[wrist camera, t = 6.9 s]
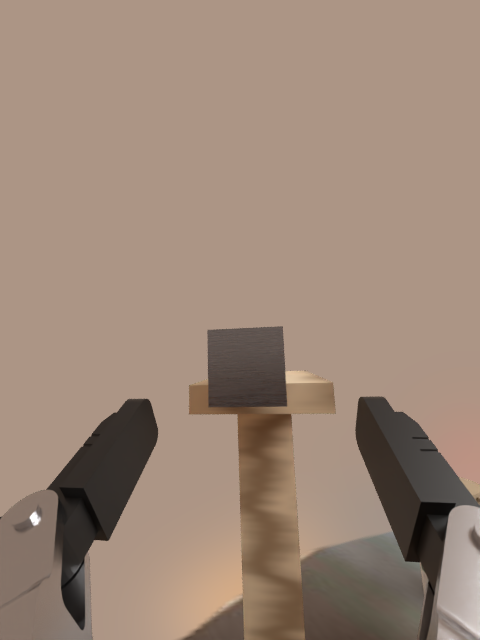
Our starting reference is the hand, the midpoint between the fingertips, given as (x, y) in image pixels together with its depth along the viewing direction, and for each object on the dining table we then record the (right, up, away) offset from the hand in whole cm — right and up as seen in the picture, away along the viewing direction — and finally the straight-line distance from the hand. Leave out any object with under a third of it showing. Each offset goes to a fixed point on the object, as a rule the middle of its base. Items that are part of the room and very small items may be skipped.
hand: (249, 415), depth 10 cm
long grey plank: (+1, -1, +9) cm, 9 cm away
